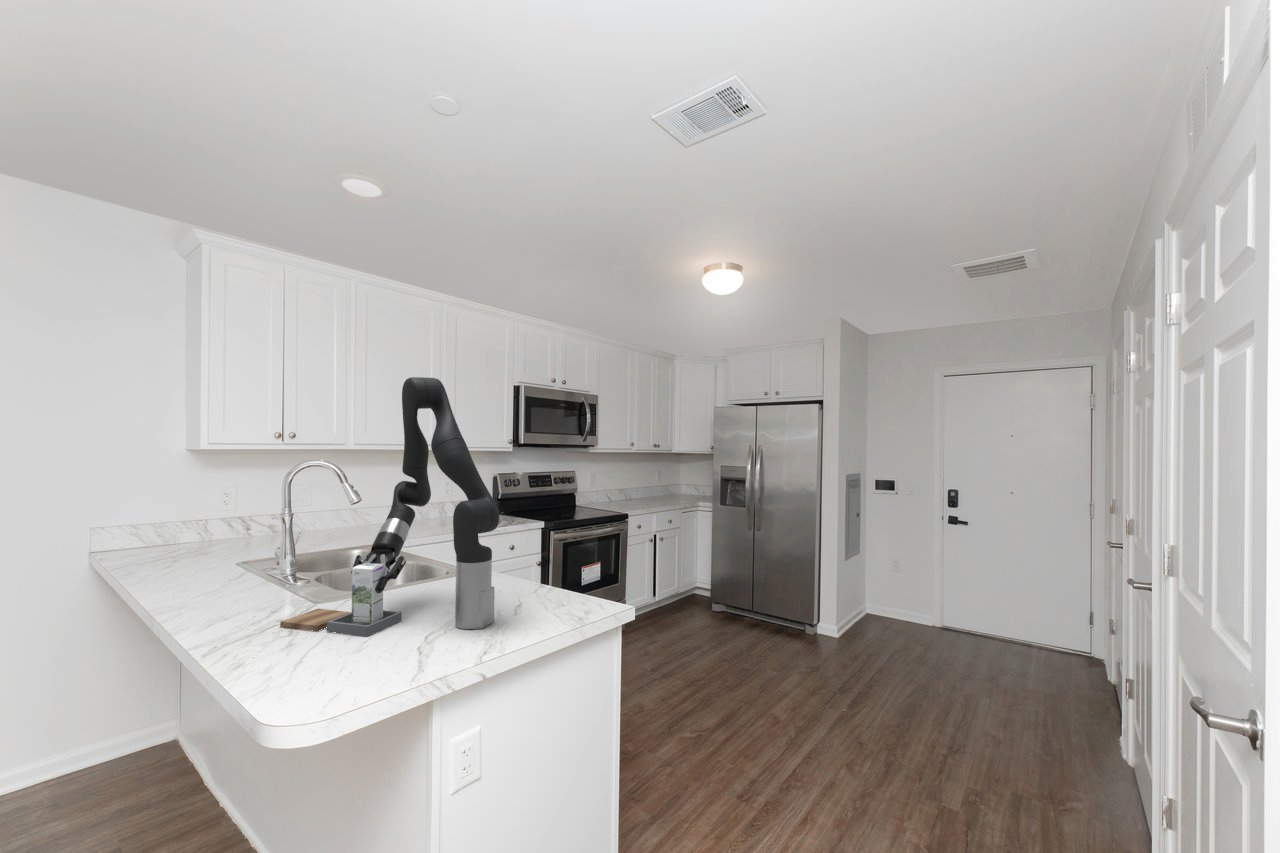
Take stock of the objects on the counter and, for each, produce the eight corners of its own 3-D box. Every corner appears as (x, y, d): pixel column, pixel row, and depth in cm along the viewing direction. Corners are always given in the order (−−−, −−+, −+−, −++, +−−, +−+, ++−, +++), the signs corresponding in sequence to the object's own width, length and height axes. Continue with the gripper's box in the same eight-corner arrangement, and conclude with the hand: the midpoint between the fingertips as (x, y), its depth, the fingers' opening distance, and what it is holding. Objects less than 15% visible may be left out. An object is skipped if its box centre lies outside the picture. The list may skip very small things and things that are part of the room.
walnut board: (352, 617, 155) (353, 612, 155) (317, 631, 143) (317, 625, 143) (317, 613, 158) (318, 608, 158) (280, 627, 147) (280, 621, 147)
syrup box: (383, 617, 151) (384, 562, 151) (371, 624, 145) (372, 567, 145) (363, 616, 151) (364, 562, 152) (350, 623, 145) (351, 567, 146)
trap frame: (401, 621, 152) (401, 612, 152) (367, 636, 140) (367, 626, 140) (363, 617, 156) (363, 608, 156) (326, 631, 144) (326, 621, 144)
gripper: (362, 530, 158) (334, 583, 146) (410, 530, 156) (386, 584, 144) (372, 545, 163) (346, 598, 151) (419, 546, 161) (397, 599, 149)
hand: (366, 591), depth 147 cm, fingers closed on syrup box, 5 cm apart
